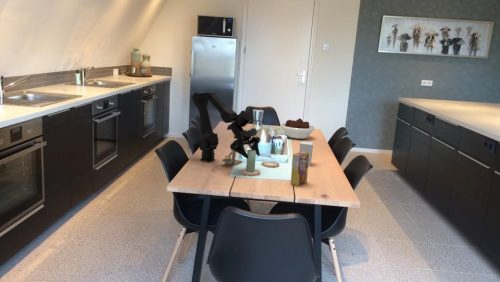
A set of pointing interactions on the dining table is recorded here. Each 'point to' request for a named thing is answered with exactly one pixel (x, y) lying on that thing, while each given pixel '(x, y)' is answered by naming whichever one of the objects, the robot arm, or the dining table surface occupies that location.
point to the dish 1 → (250, 173)
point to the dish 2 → (270, 164)
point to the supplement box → (307, 149)
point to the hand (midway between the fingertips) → (253, 156)
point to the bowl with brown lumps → (297, 129)
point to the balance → (231, 161)
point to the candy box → (299, 168)
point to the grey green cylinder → (250, 161)
